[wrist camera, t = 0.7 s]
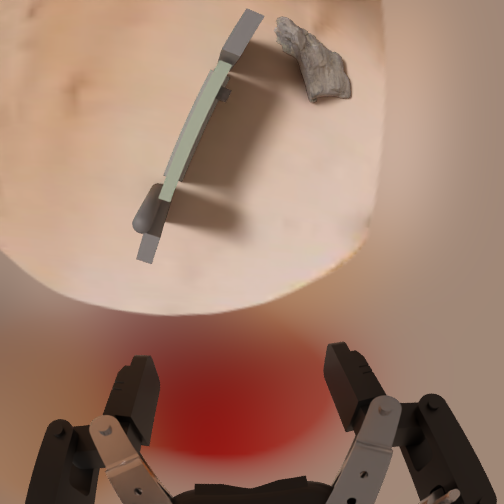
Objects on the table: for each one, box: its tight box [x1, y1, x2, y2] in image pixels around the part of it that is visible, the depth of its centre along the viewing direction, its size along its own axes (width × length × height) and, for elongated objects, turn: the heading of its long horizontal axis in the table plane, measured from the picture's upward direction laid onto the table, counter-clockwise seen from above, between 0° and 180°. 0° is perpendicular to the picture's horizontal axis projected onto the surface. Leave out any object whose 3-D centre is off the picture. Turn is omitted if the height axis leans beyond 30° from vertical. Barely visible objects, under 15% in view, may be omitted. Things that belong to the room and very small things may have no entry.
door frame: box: [132, 9, 264, 264], centre depth 24 cm, size 3×24×10 cm, turn 154°
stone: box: [274, 17, 351, 102], centre depth 25 cm, size 6×12×4 cm, turn 27°
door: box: [159, 60, 232, 202], centre depth 25 cm, size 2×14×7 cm, turn 154°
